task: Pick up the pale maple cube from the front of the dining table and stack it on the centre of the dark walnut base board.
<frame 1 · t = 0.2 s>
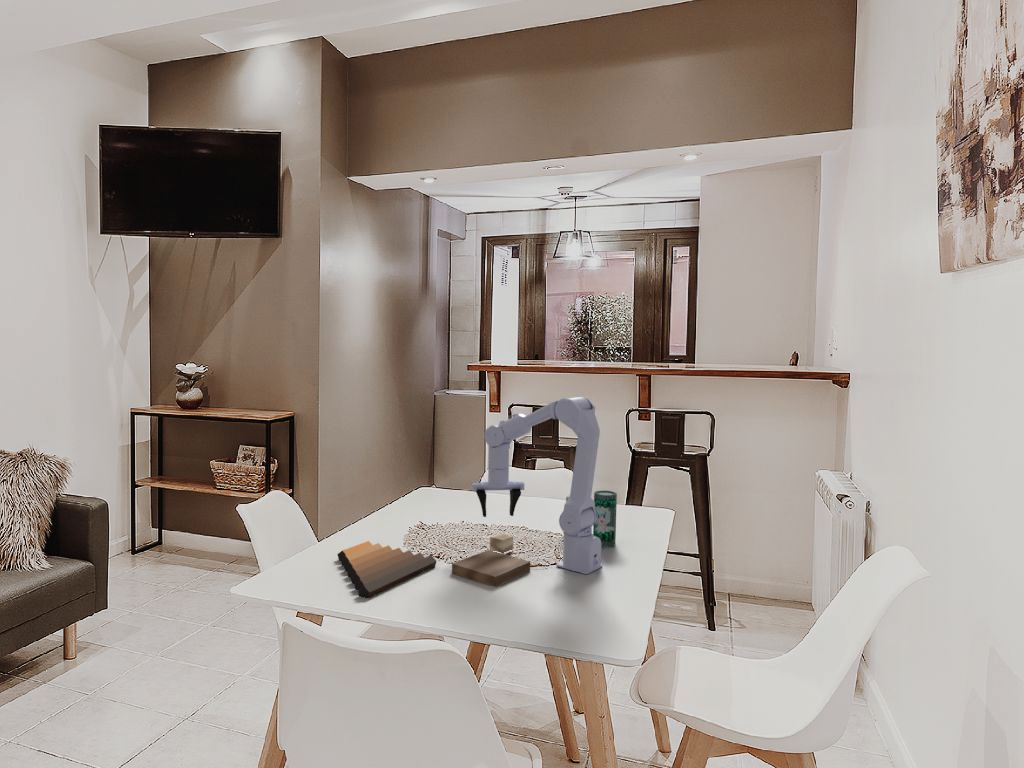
hand: (498, 515, 187), 9 cm above the table, tool pointing down, fingers open, 7 cm apart
maple block: (501, 552, 184), on the table
can: (604, 544, 193), on the table
pan flute: (366, 574, 167), on the table
walnut base: (491, 572, 168), on the table
skincare box: (576, 537, 200), on the table
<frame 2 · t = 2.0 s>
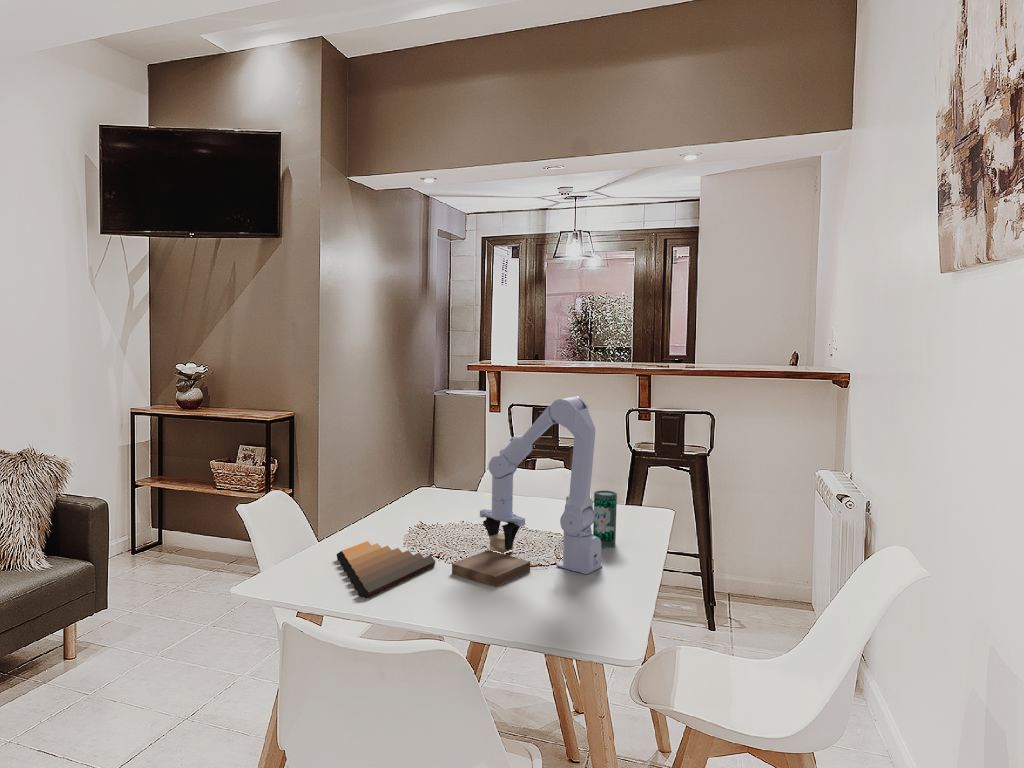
hand: (501, 547, 184), 1 cm above the table, tool pointing down, fingers closed on maple block, 4 cm apart
maple block: (501, 552, 184), on the table, touching gripper
everything else where it was.
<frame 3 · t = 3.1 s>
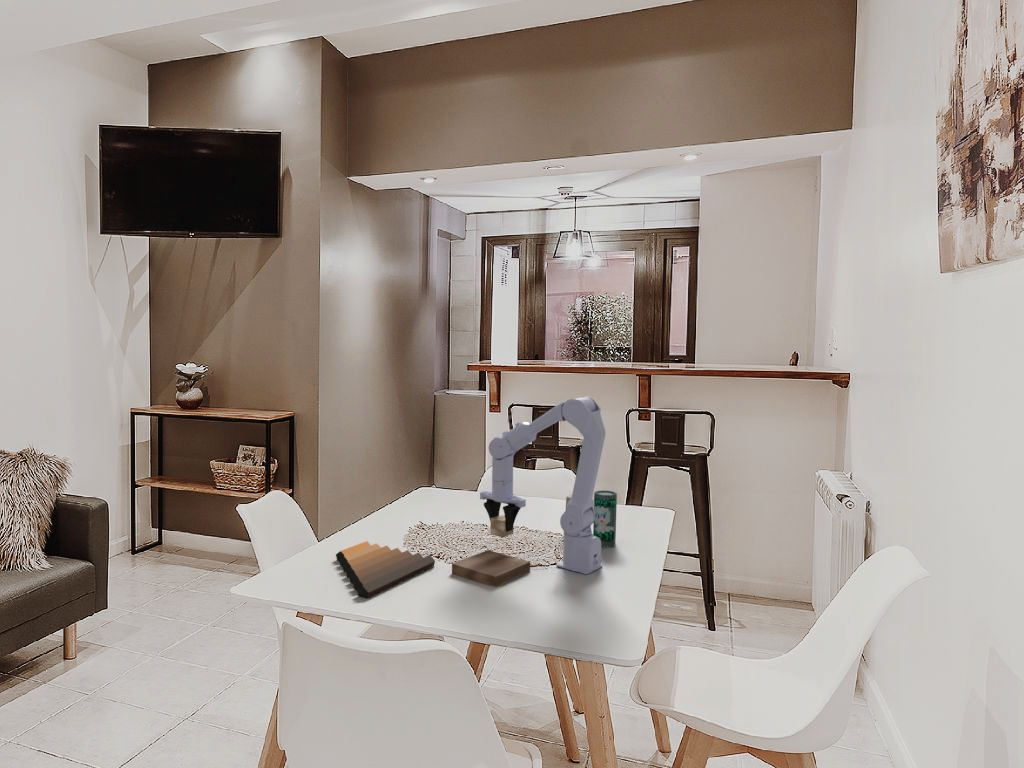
hand: (502, 528, 183), 7 cm above the table, tool pointing down, fingers closed on maple block, 4 cm apart
maple block: (501, 534, 184), point 5 cm above the table, touching gripper
everything else where it was.
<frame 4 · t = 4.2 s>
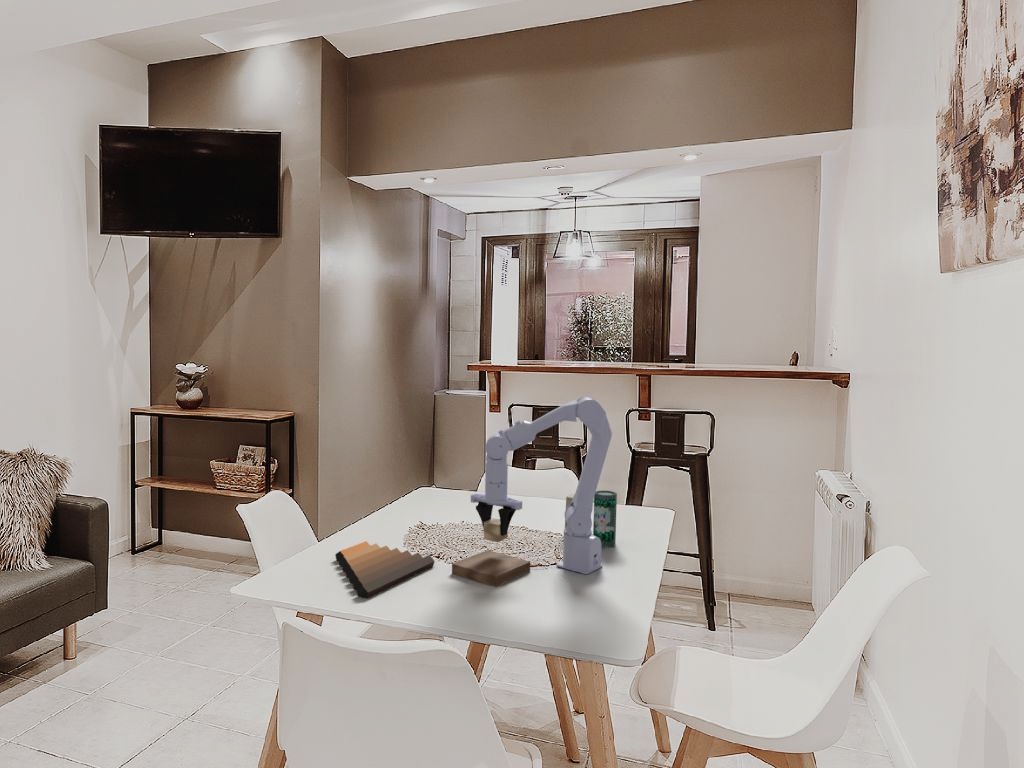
hand: (495, 533, 173), 8 cm above the table, tool pointing down, fingers closed on maple block, 4 cm apart
maple block: (495, 538, 173), point 7 cm above the table, touching gripper
everything else where it was.
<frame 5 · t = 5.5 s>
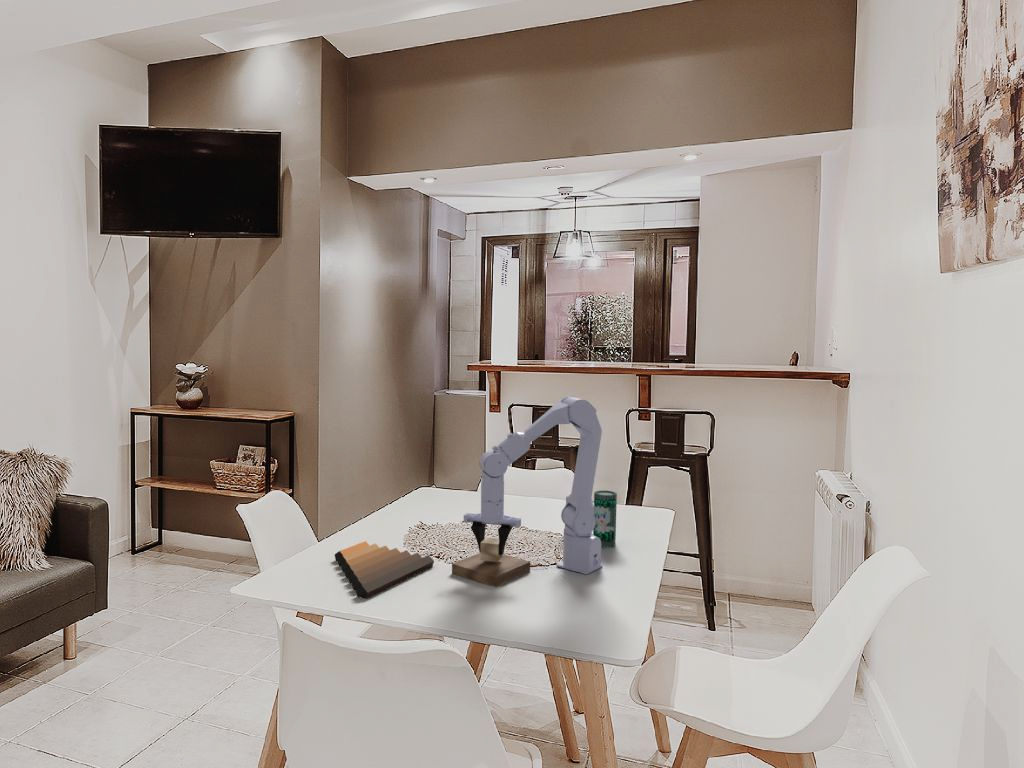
hand: (491, 552, 168), 5 cm above the table, tool pointing down, fingers closed on maple block, 4 cm apart
maple block: (491, 558, 168), point 4 cm above the table, touching gripper
everything else where it was.
when the fingers open (5 cm above the table, at t = 6.4 s): maple block stays where it is, resting on walnut base.
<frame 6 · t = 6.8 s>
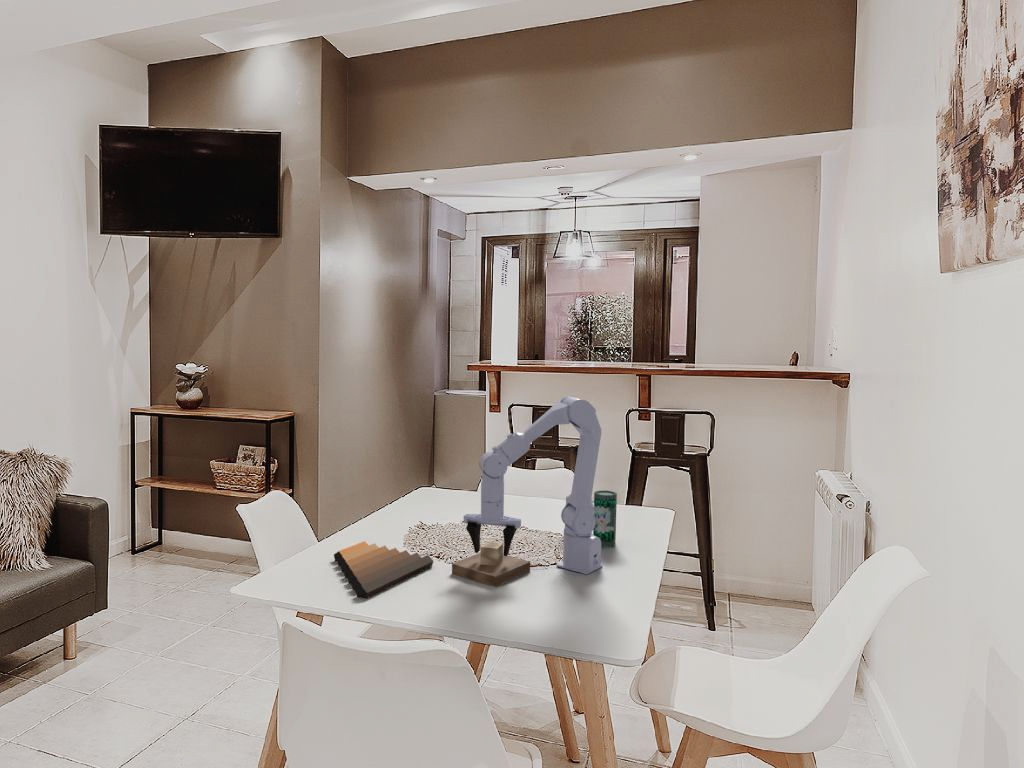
hand: (491, 553, 168), 5 cm above the table, tool pointing down, fingers open, 7 cm apart
maple block: (491, 562, 168), point 2 cm above the table, touching walnut base
everything else where it was.
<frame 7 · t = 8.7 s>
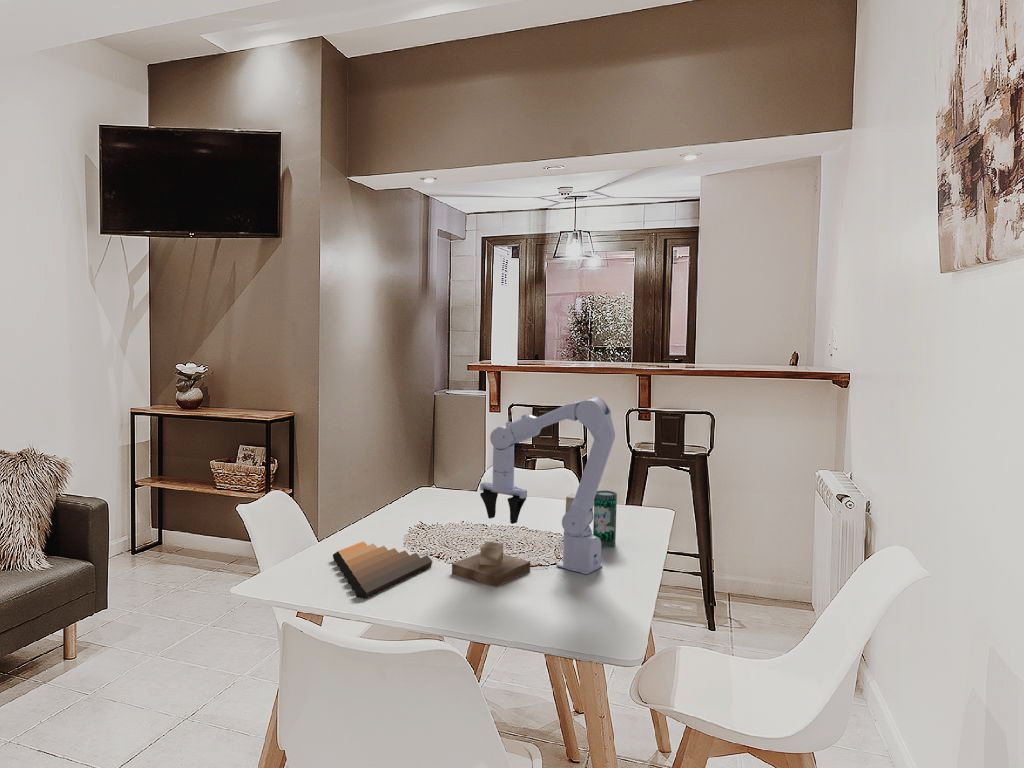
hand: (502, 520, 180), 10 cm above the table, tool pointing down, fingers open, 7 cm apart
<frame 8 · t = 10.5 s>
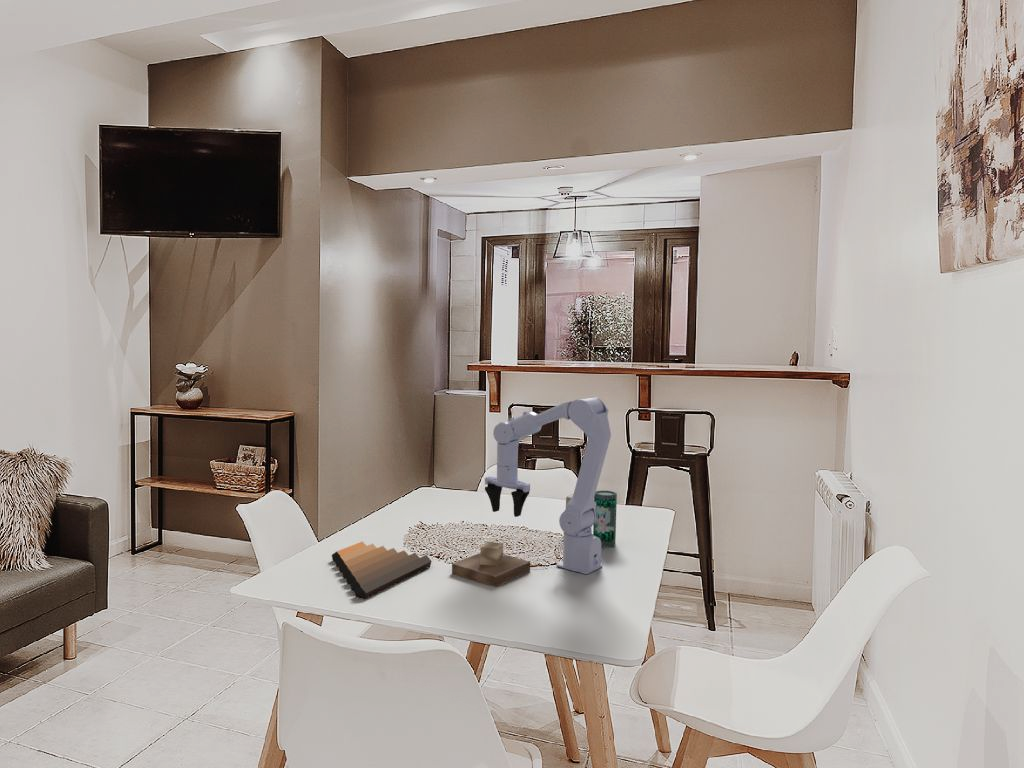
hand: (506, 513, 185), 10 cm above the table, tool pointing down, fingers open, 7 cm apart
at the end: maple block inside the target area on the walnut base (0.1 cm from its centre), point 2.5 cm above the walnut base's base; maple block tilted 0°; the gripper is holding nothing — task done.
